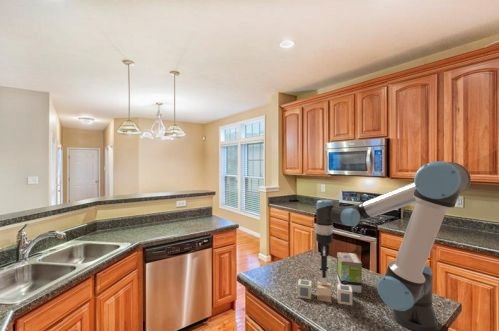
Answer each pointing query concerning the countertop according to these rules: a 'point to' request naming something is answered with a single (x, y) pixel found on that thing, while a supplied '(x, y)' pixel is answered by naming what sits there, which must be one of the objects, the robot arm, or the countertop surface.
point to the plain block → (324, 292)
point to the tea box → (349, 271)
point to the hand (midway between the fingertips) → (323, 283)
